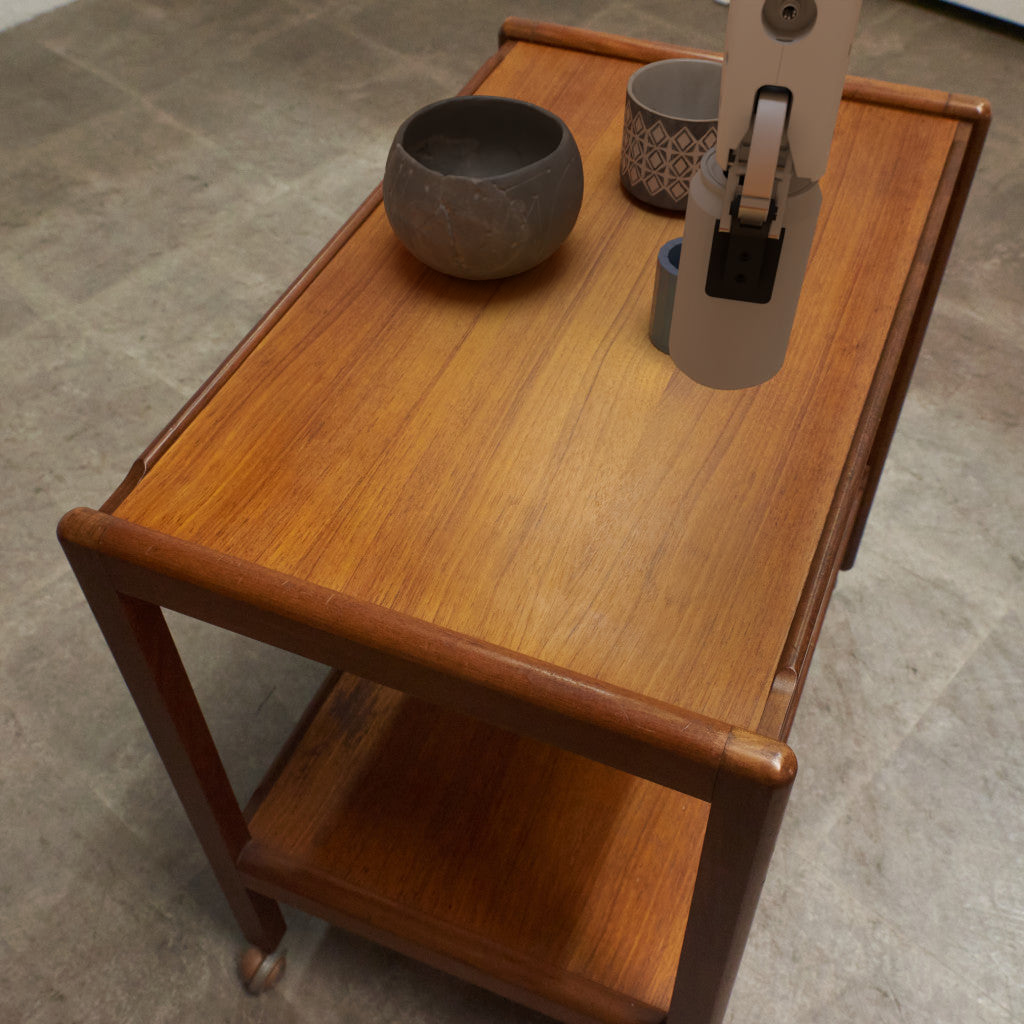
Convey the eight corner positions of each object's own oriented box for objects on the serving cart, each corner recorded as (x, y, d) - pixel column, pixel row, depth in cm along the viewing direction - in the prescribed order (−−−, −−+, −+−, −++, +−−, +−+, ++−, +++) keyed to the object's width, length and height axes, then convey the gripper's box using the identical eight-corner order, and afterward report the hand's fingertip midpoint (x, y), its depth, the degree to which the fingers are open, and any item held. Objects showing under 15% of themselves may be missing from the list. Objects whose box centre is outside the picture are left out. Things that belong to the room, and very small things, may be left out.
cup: (724, 319, 94) (739, 242, 88) (715, 363, 90) (730, 285, 84) (655, 308, 95) (664, 231, 89) (643, 351, 91) (652, 273, 85)
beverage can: (645, 347, 60) (666, 152, 52) (737, 313, 62) (773, 120, 54) (710, 413, 57) (745, 215, 48) (806, 376, 59) (857, 179, 50)
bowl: (358, 290, 97) (342, 163, 87) (434, 190, 108) (427, 68, 99) (543, 332, 93) (547, 203, 83) (602, 224, 104) (611, 100, 95)
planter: (739, 157, 113) (757, 60, 105) (745, 224, 104) (764, 124, 96) (620, 151, 113) (628, 54, 106) (616, 217, 105) (625, 117, 97)
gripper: (918, -46, 35) (809, 374, 48) (914, -196, 46) (826, 178, 59) (690, -66, 36) (644, 350, 49) (741, -207, 47) (692, 162, 61)
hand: (744, 253), depth 54 cm, fingers closed on beverage can, 6 cm apart
